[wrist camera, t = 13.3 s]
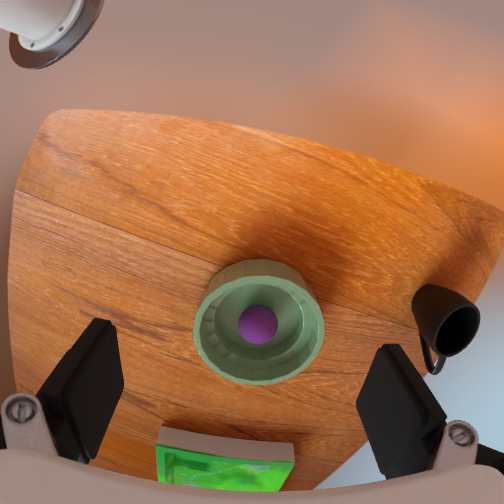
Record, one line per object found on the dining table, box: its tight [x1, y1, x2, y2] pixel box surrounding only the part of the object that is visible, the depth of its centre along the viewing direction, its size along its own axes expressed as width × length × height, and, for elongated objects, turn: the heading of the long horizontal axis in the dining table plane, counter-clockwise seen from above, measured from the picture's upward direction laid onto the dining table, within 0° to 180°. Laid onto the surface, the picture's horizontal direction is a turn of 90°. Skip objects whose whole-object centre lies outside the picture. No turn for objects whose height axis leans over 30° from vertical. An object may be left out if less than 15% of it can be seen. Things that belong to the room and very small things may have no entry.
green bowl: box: [193, 259, 325, 385], centre depth 38 cm, size 16×16×6 cm
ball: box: [238, 305, 278, 344], centre depth 38 cm, size 5×5×5 cm
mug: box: [411, 284, 480, 375], centre depth 37 cm, size 8×12×10 cm
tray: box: [156, 426, 295, 492], centre depth 51 cm, size 25×25×5 cm
